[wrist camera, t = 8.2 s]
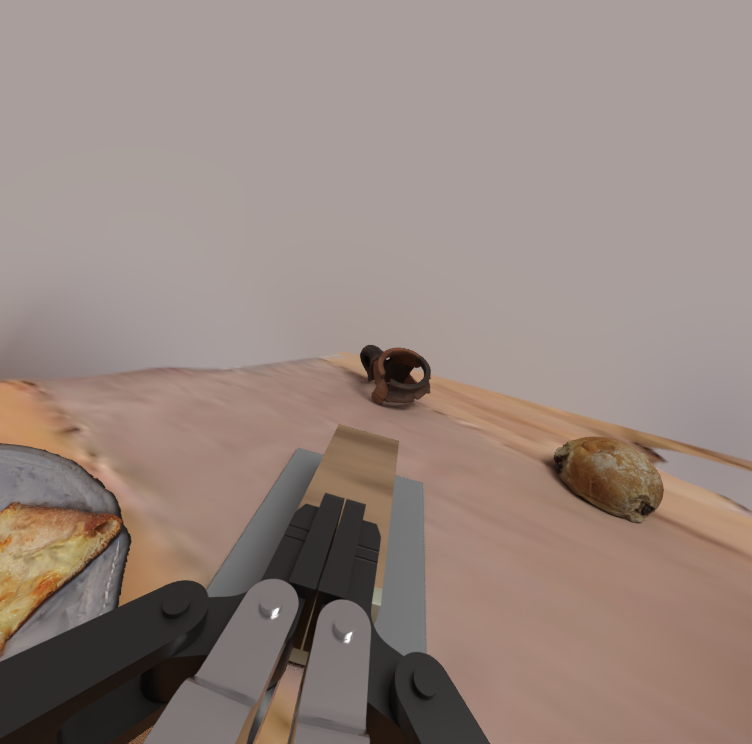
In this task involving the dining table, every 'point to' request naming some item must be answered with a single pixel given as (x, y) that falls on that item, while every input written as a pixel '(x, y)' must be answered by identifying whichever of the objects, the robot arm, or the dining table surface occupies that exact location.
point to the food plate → (54, 547)
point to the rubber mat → (403, 558)
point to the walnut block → (357, 491)
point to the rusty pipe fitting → (395, 374)
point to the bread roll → (610, 476)
